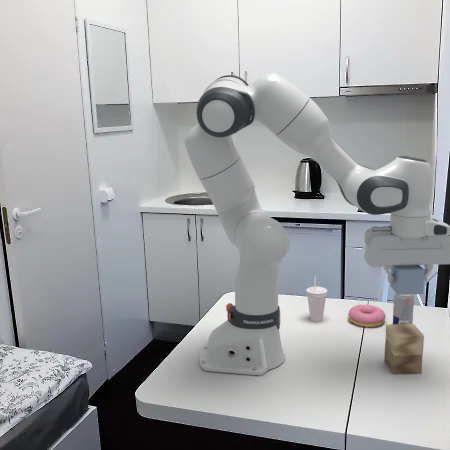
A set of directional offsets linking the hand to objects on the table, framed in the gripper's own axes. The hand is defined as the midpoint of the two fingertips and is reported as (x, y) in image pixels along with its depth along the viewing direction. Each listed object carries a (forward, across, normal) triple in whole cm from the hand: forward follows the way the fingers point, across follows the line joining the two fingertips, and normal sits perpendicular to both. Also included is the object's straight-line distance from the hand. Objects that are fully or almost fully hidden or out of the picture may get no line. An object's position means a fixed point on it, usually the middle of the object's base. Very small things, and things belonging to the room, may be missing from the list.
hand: (406, 281), depth 124 cm
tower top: (+18, 0, 0) cm, 18 cm away
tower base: (+22, 0, 0) cm, 23 cm away
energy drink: (+23, +6, +20) cm, 31 cm away
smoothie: (+23, -17, +30) cm, 41 cm away
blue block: (+2, 0, 0) cm, 2 cm away
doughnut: (+23, -2, +28) cm, 36 cm away
